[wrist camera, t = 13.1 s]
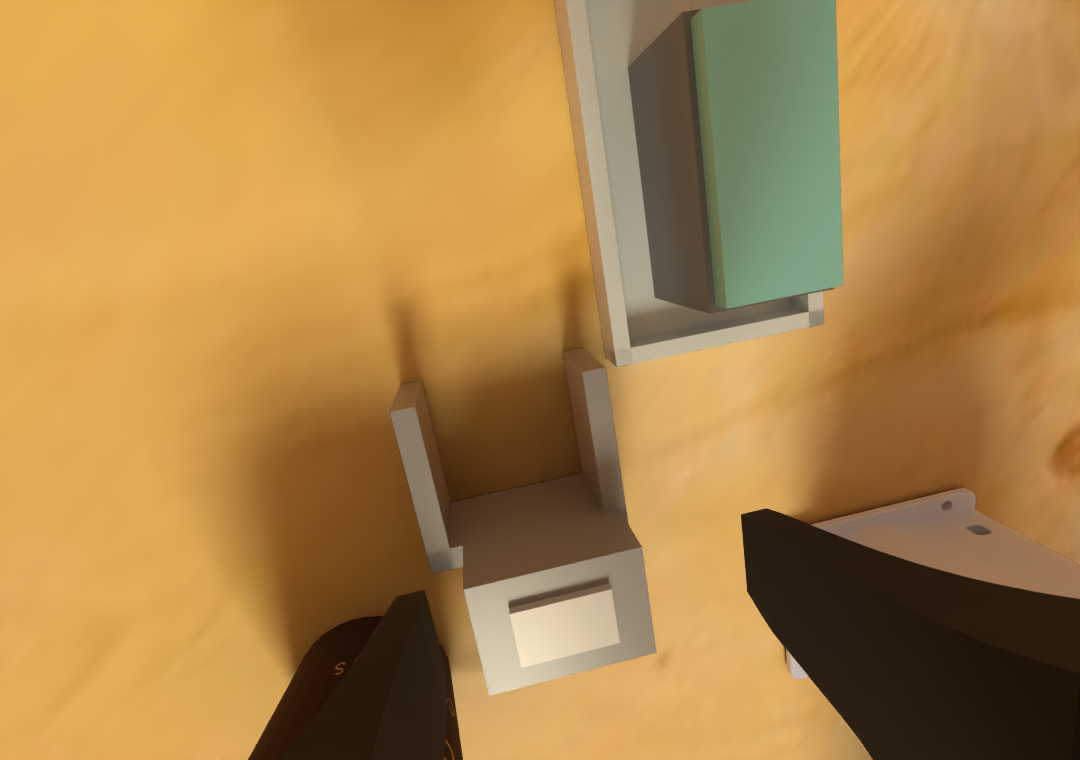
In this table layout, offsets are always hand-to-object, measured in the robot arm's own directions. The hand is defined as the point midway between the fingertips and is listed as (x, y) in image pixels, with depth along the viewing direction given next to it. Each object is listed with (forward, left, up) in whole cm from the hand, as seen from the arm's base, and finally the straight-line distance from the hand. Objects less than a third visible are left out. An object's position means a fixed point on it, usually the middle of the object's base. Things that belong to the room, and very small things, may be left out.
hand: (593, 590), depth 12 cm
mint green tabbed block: (-8, -8, -10) cm, 15 cm away
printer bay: (+1, +2, -10) cm, 11 cm away
